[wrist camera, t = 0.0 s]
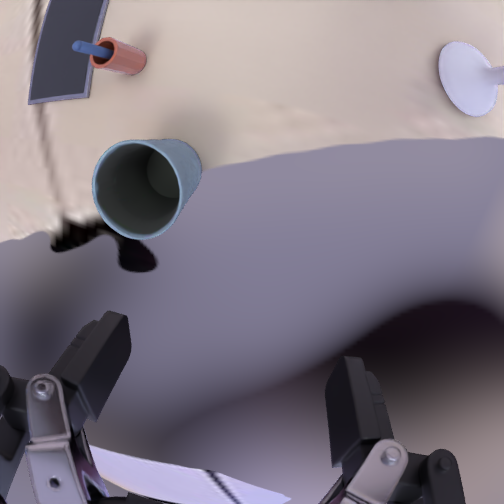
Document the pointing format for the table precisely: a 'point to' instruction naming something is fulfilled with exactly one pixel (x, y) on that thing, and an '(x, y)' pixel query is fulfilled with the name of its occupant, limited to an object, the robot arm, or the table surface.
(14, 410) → the robot arm
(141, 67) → the pen pot
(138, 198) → the blue-grey tapered bin
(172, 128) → the table surface
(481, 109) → the flower in vase
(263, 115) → the table surface
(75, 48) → the stylus
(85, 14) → the tablet
